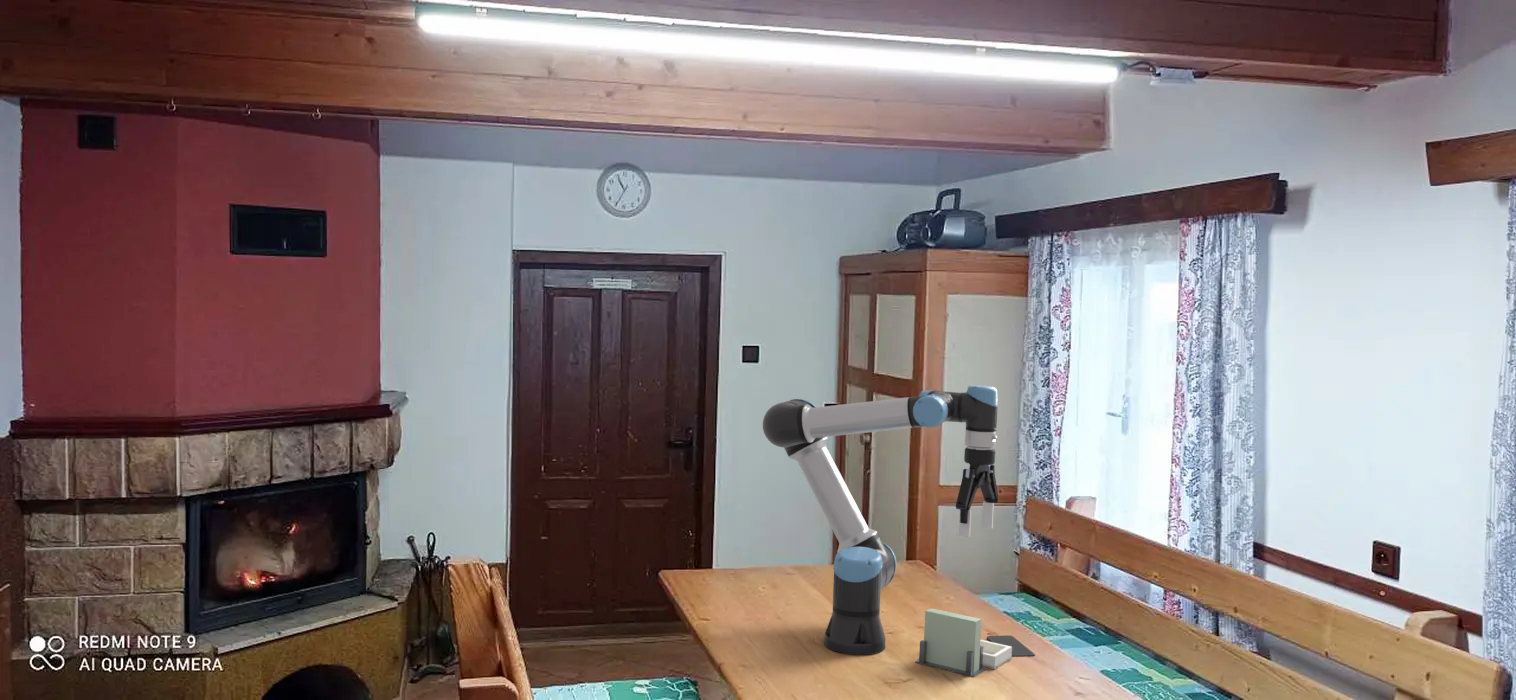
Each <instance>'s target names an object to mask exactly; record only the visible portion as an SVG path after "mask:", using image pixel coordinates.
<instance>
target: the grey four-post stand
mask: <svg viewBox="0 0 1516 700" xmlns="http://www.w3.org/2000/svg"><path fill="white" fill-rule="evenodd" d="M926 648H927V641H924V639H921V640H920V641H919V656H918V659H917V660H915V661H914V662H915V664H918V665H919V664H920V665H924V666H927V667H931V668H936V669H940V670H943V671H948V672H952V673H956V674H960V675H964V676H967V677H971V678H974V677H976V676H978V675H979V674H981V673H983V672H984V671H986V670H987V667H983V666H982V665H983V646H980V661H979V670H978V671H976V672H975V673H973V658H974V652H972V651H968V652H967V658H966V671H963V670H959V669H955V668H951V667H947V666H943V665H939V664H935V663H931V662H927V661H926Z"/></svg>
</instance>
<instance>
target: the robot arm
mask: <svg viewBox="0 0 1516 700" xmlns="http://www.w3.org/2000/svg"><path fill="white" fill-rule="evenodd" d="M998 402H999V400H998V389H997V388H996V387H995V386H992V385H991V386H990V385H981V384H980V385H979V384H976V385H975V384H972V385H968V387H967V390H966V392H953V391H943V390H935V389H933V390H922V391H920V392H919V395H917V396H916V395H915V396H909V397H907V396H906V397H901V398H900V397H899V398H890V399H881V400H880V399H879V400H872V401H871V400H870V401H864V402H861V401H860V402H854V403H846V404H845V403H844V404H836V405H828V406H827V405H826V406H816V404H814V403H813V402H811V401H810V400H806V399H802V398H794V399H790V400H787V401H784V402H783V401H781V402H778V403H776V404H774V405H772V406H771V407H770V408H769V409H767V411H766V412H765V414H764V416H763V420H762V431H763V434H764V435H765V438H766V439H767V440H768V442H769V443H771V444H773V445H774V446H776V447H779V448H783V449H784V451H785V452H786V454H787V456H788V458H789V459H791V460H794V461H796V462H797V464H798V465H799V467H800V470H801V471H802V473H803V475H804V477H805V478H806V481H807V482H808V484H809V487H810V488H811V491H812V493H813V495H814V497H815V498H816V499H817V500H816V501H817V502H818V504H819V506H820V508H821V510H822V512H823V514H824V515H825V519H827V522H828V524H829V526H830V527H831V529H832V531H833V533H834V535H835V537H836V539H837V541H838V549H837V553H836V554H835V557H834V561H833V589H832V590H833V591H832V593H833V594H832V613H831V616H830V618H829V621H828V624H827V627H826V630H825V633H824V637H823V644H824V646H825V647H826V648H827V649H829V650H830V651H831V650H832V651H834V652H837V653H840V654H842V653H843V654H846V655H847V654H848V655H859V656H860V655H861V656H862V655H865V656H866V655H872V654H877V653H880V652H883V651H885V649H886V636H885V633H884V628H883V624H882V622H881V616H880V611H881V610H880V609H881V591H883V589H884V588H885V587H888V585H889V584H890V583H891V582H892V580H893V579H894V577H895V574H896V571H897V567H898V565H897V562H898V561H897V557H896V554H895V553H894V550H893V549H892V548H891V547H890V546H889V545H887V544H886V543H884V542H883V541H882V539H881V537H880V534H879V532H878V531H877V530H875V529H872V528H870V527H869V526H868V524H867V521H866V520H865V518H864V516H863V515H862V513H861V511H860V509H859V506H858V504H857V503H856V501H855V499H854V497H853V495H852V494H851V491H850V488H849V487H848V485H847V484H846V482H845V480H844V477H843V476H842V474H841V472H840V470H839V468H838V466H837V464H836V463H835V460H834V458H833V456H832V455H831V453H830V451H829V449H828V447H827V444H828V440H829V437H838V436H846V435H848V436H849V435H857V434H865V433H875V432H877V433H878V432H885V431H886V432H887V431H894V430H902V429H903V430H905V429H914V428H936V427H939V426H940V425H942V424H943V423H945V422H950V423H951V422H952V423H965V436H964V446H966V447H965V448H964V456H963V458H964V459H963V460H964V462H965V463H966V464H969V468H964V469H963V471H962V479H961V481H960V482H961V483H960V487H959V491H958V494H957V499H956V503H955V509H956V510H959V525H958V536H959V537H964V538H965V537H966V538H970V537H971V532H972V531H971V530H972V529H971V528H972V510H971V507H972V504H973V501H974V498H975V496H976V493H977V490H978V489H980V490H981V494H982V496H983V500H984V501H983V502H982V514H981V528H983V529H990V530H992V529H994V511H995V504H998V502H999V492H998V486H997V480H996V473H995V467H996V466H995V463H996V450H995V447H996V444H997V443H996V442H997V440H998V436H997V423H998V407H999V404H998Z"/></svg>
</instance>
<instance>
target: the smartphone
mask: <svg viewBox="0 0 1516 700" xmlns="http://www.w3.org/2000/svg"><path fill="white" fill-rule="evenodd" d="M988 640H989V642H993V643H998V644H1002V645H1007V646H1011V647H1012V657H1014V658H1015V657H1017V658H1018V657H1020V658H1021V657H1024V656H1027V657H1035V656H1036V654H1035V653H1034V652H1033V651H1031V650H1030V649H1029V648H1028V647H1027V646H1026V645H1025V644H1023V643H1022V642H1021V641H1019V640H1018V639H1017V638H1016V637H1014V636H1013V635H1005V634H1003V635H987V636H986V641H988ZM1012 657H1011V658H1012Z"/></svg>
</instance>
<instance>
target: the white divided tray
mask: <svg viewBox="0 0 1516 700" xmlns="http://www.w3.org/2000/svg"><path fill="white" fill-rule="evenodd" d="M980 646H983V665H982V667H984V668H986V669H988V668H989V669H991V670H996V669H998V668H999V667H1001V666H1003V665H1004V664H1005V663H1007V662H1009V661H1010V660H1012V647H1011V646H1007V645H1002V644H998V643H993V642H990V641H988V640H984V639H981V640H980Z"/></svg>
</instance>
